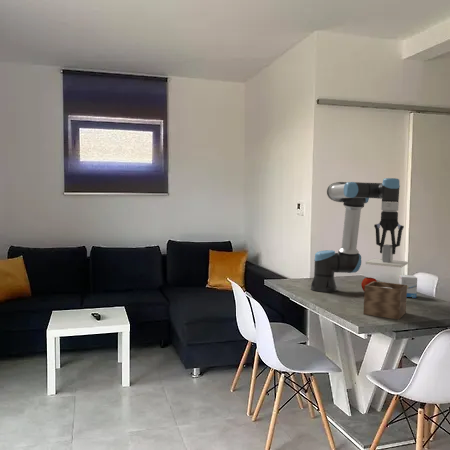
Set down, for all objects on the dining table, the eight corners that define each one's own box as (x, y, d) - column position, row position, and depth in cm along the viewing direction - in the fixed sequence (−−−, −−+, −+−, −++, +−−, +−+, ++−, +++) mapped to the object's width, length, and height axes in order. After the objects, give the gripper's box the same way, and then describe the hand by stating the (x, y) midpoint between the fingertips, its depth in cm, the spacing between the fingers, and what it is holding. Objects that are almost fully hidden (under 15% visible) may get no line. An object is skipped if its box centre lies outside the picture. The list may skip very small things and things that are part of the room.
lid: (365, 264, 220) (366, 244, 219) (373, 260, 233) (374, 242, 233) (401, 267, 211) (402, 247, 211) (407, 263, 225) (408, 245, 224)
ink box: (416, 298, 262) (417, 277, 262) (400, 297, 264) (401, 276, 263) (413, 295, 271) (414, 275, 270) (398, 294, 272) (399, 274, 272)
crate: (363, 314, 221) (364, 285, 220) (371, 307, 234) (373, 281, 234) (399, 319, 212) (400, 289, 212) (405, 312, 226) (407, 284, 225)
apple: (358, 295, 264) (359, 276, 264) (365, 293, 271) (366, 275, 270) (372, 298, 259) (373, 278, 258) (379, 296, 265) (380, 277, 264)
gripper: (370, 210, 222) (367, 259, 223) (406, 212, 213) (403, 263, 215) (374, 210, 228) (371, 258, 230) (409, 211, 220) (406, 261, 221)
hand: (387, 260), depth 222 cm, fingers closed on lid, 3 cm apart
